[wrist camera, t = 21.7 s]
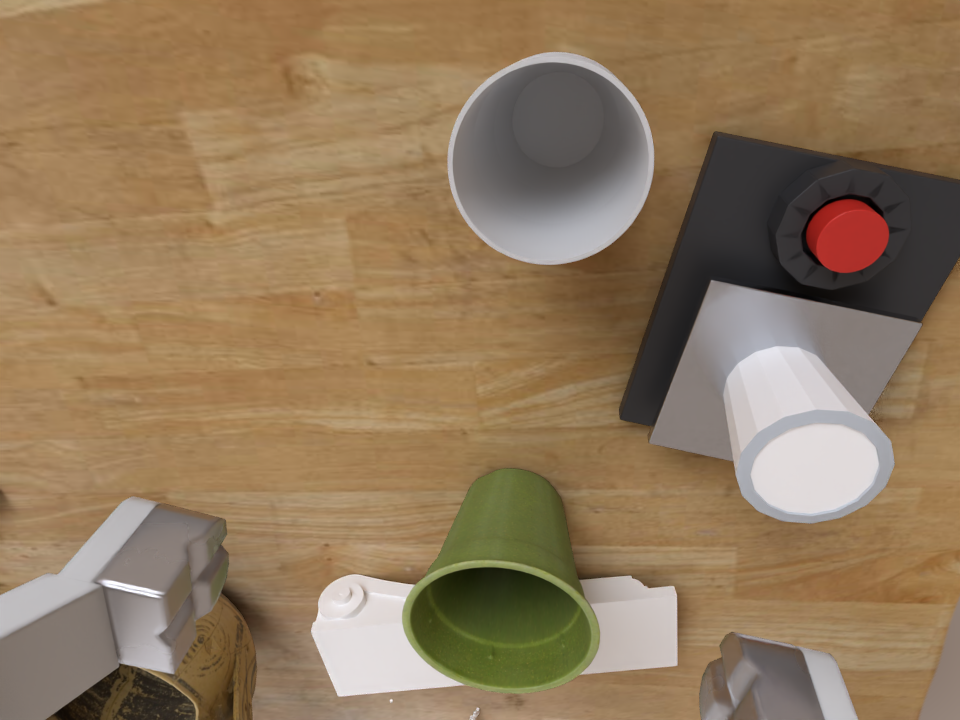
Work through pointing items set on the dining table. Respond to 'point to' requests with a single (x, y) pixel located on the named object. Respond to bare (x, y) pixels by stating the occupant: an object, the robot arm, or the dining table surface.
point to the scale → (793, 243)
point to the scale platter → (764, 324)
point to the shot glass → (802, 438)
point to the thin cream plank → (397, 667)
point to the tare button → (847, 235)
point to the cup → (551, 159)
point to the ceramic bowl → (181, 679)
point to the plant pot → (504, 592)
